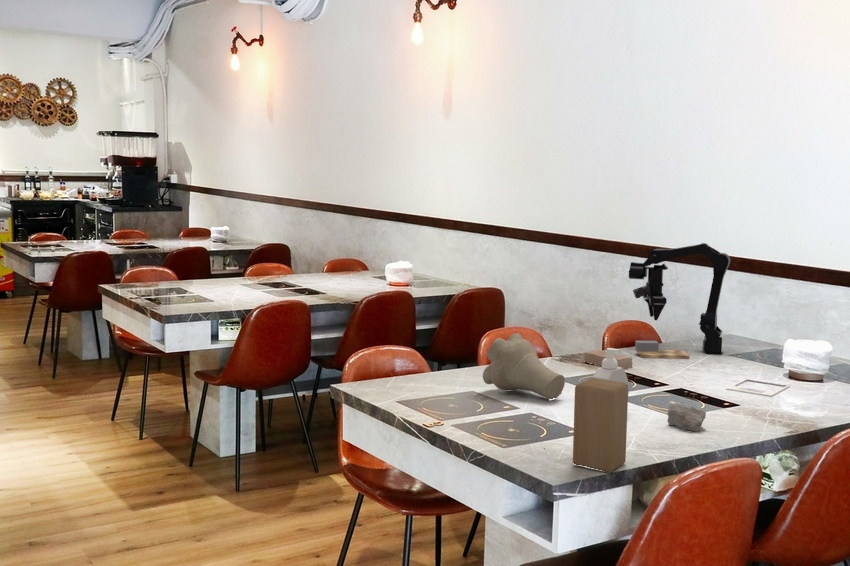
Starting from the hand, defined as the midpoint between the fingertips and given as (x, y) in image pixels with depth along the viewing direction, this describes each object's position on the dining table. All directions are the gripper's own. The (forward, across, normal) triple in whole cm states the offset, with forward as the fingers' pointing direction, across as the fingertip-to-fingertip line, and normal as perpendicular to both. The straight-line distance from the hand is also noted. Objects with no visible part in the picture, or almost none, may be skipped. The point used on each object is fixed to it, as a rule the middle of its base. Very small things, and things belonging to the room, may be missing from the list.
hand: (653, 318), depth 360 cm
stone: (+12, +117, -12) cm, 119 cm away
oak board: (+12, +16, +1) cm, 20 cm away
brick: (+13, +37, -23) cm, 45 cm away
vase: (+12, +87, -54) cm, 103 cm away
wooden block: (+12, +153, -40) cm, 159 cm away
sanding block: (+11, +16, -5) cm, 20 cm away
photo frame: (+13, +68, +22) cm, 72 cm away
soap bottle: (+12, +109, -32) cm, 114 cm away
